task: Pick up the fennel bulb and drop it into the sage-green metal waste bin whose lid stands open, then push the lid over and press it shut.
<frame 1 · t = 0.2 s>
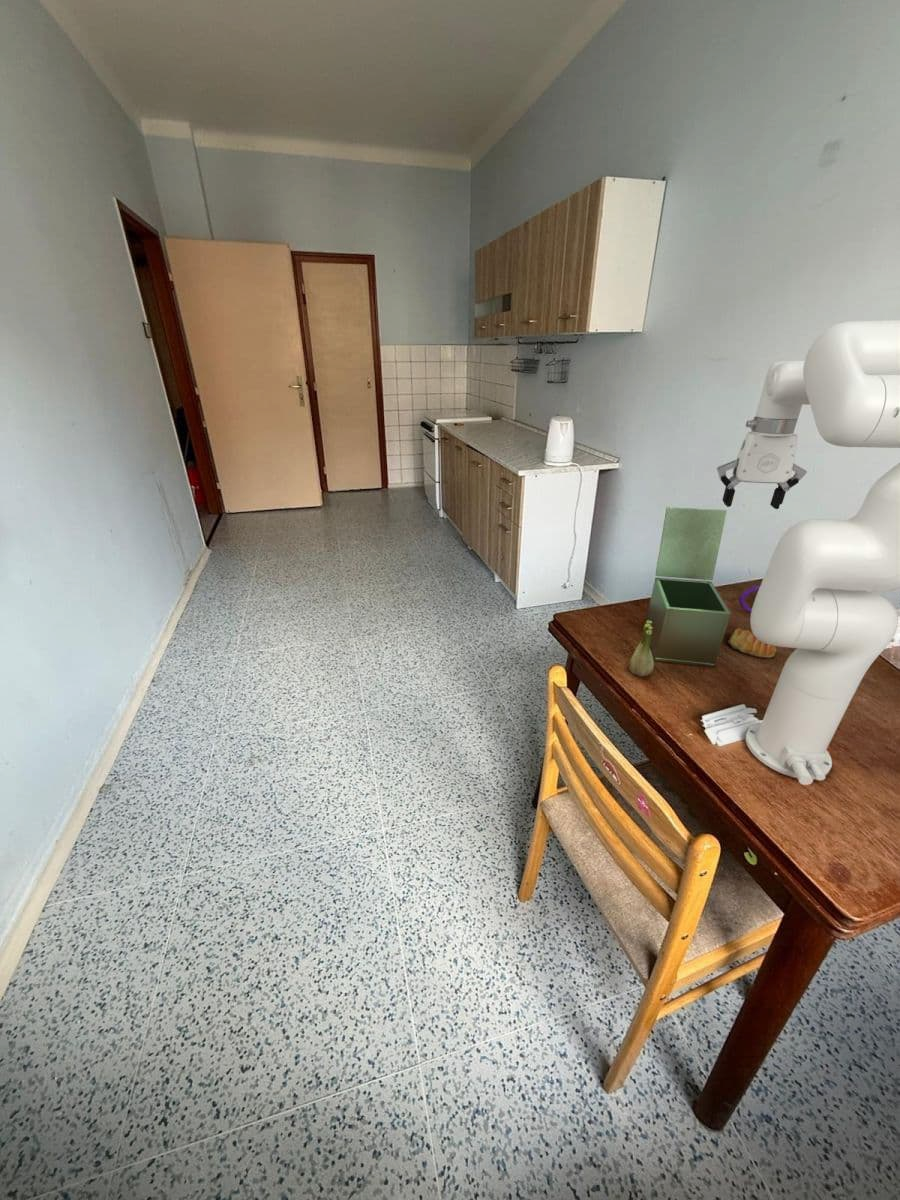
hand: (750, 506, 107), 31 cm above the table, tool pointing down, fingers open, 9 cm apart
bin lid: (689, 544, 110), point 22 cm above the table, hinge at 100.0°
trash bin: (677, 645, 113), on the table
mug: (771, 620, 122), on the table
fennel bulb: (640, 673, 104), on the table
pastry: (747, 648, 111), on the table
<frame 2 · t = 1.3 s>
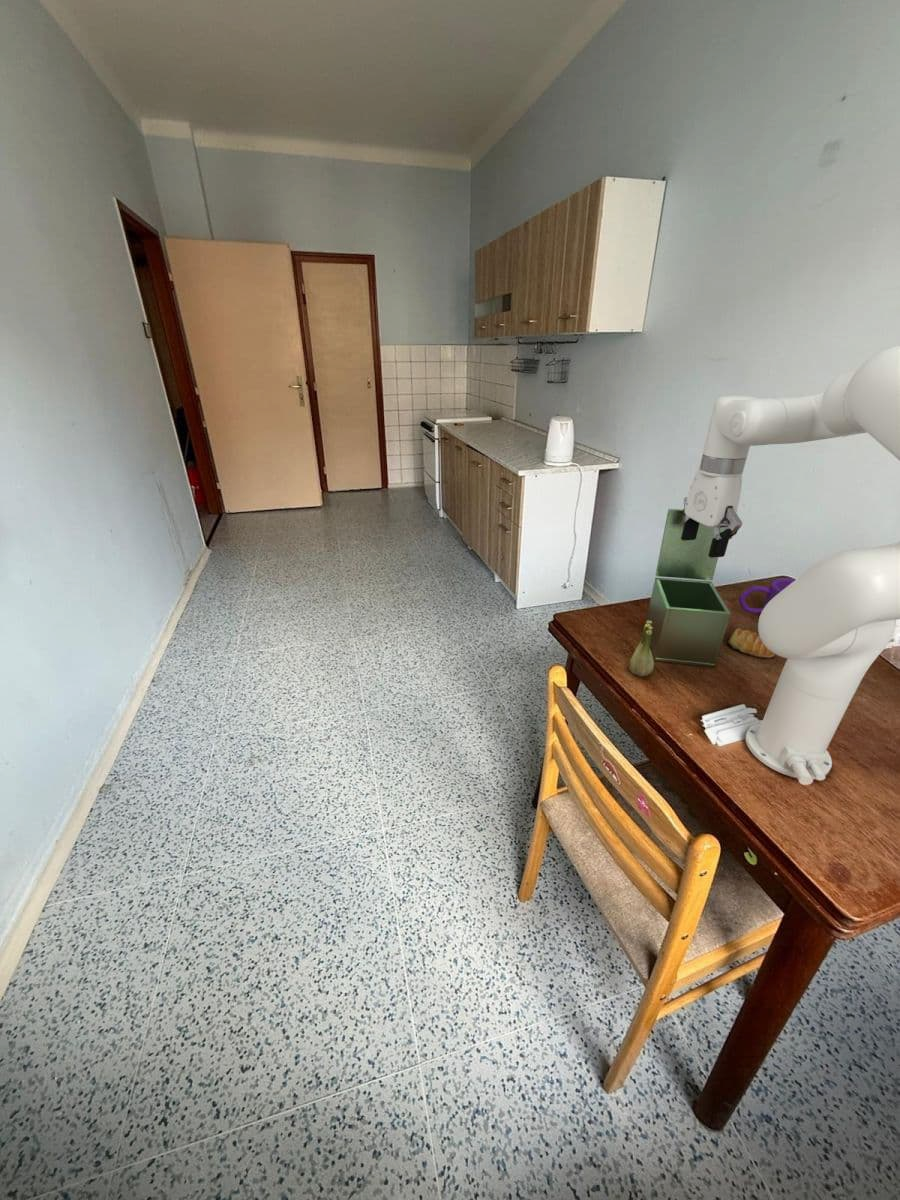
hand: (701, 547, 99), 26 cm above the table, tool pointing down, fingers open, 9 cm apart
bin lid: (690, 545, 109), point 22 cm above the table, hinge at 92.7°
everything else where it was.
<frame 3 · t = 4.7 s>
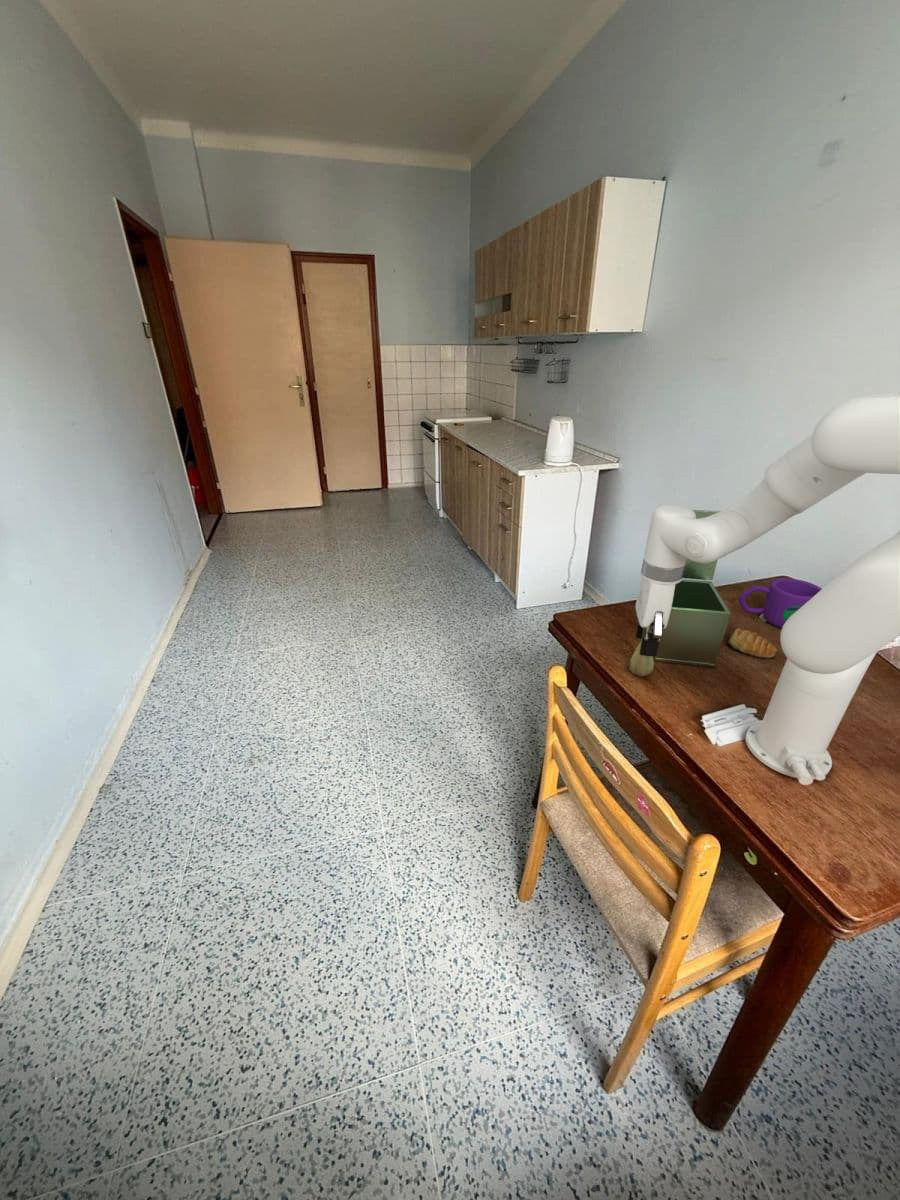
hand: (645, 645, 100), 7 cm above the table, tool pointing down, fingers closed on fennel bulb, 5 cm apart
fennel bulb: (640, 673, 104), on the table, touching gripper
everything else where it was.
when the fingers open (20 cm above the table, at t = 10.5 s): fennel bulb drops 12 cm, resting on trash bin.
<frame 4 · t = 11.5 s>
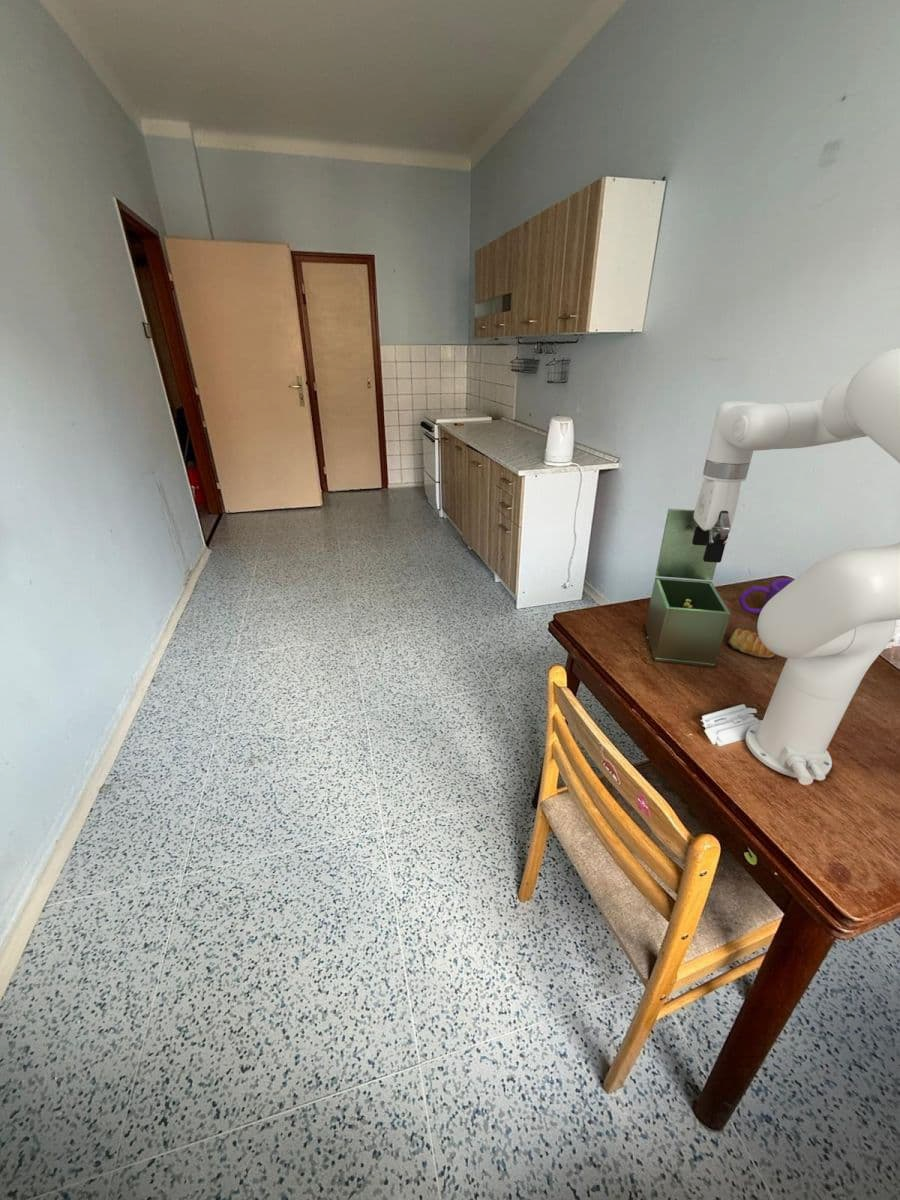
hand: (705, 552, 99), 25 cm above the table, tool pointing down, fingers open, 9 cm apart
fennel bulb: (680, 648, 110), point 1 cm above the table, touching trash bin
everything else where it was.
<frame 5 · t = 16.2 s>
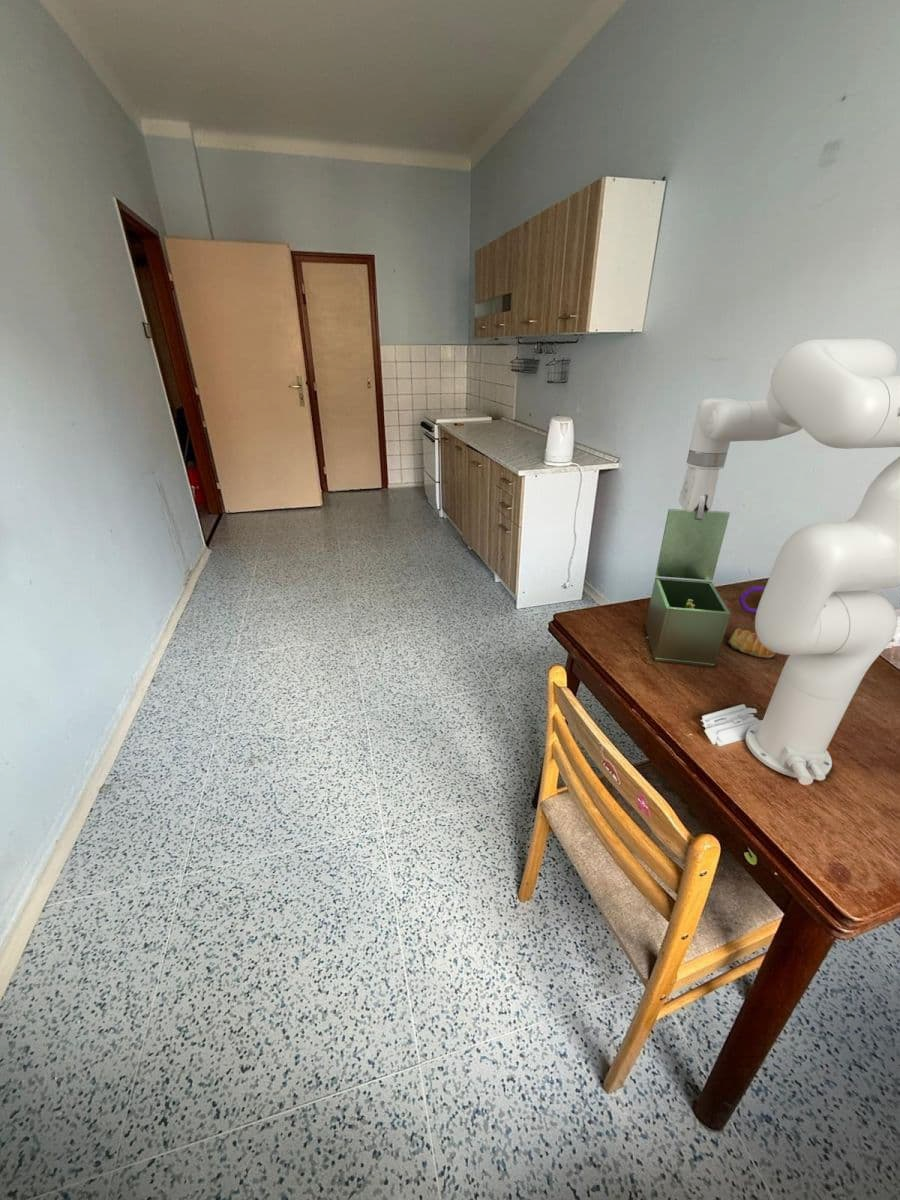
hand: (687, 537, 112), 23 cm above the table, tool pointing down, fingers closed
bin lid: (690, 545, 109), point 22 cm above the table, hinge at 91.8°, touching gripper
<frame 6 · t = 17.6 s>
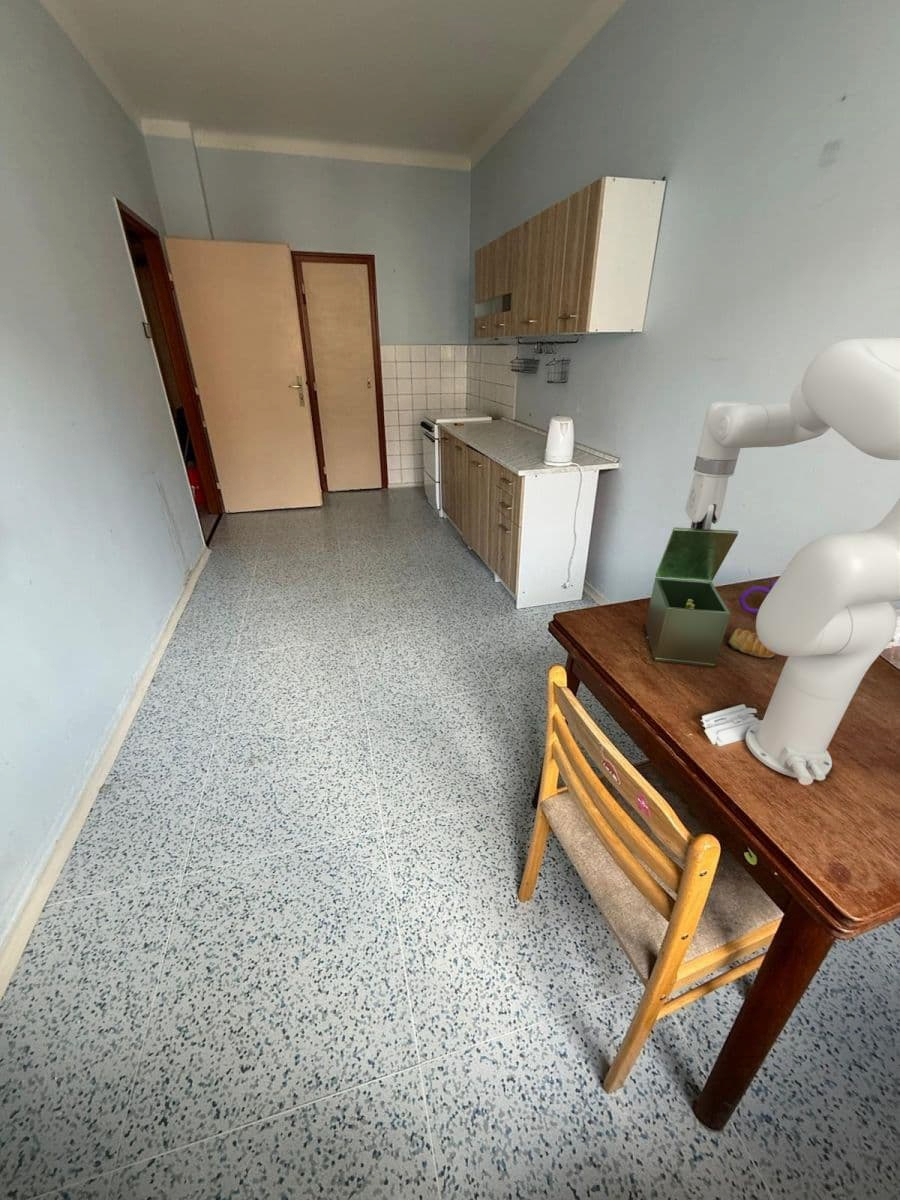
hand: (694, 548, 106), 23 cm above the table, tool pointing down, fingers closed
bin lid: (693, 555, 106), point 22 cm above the table, hinge at 63.0°, touching gripper
everything else where it was.
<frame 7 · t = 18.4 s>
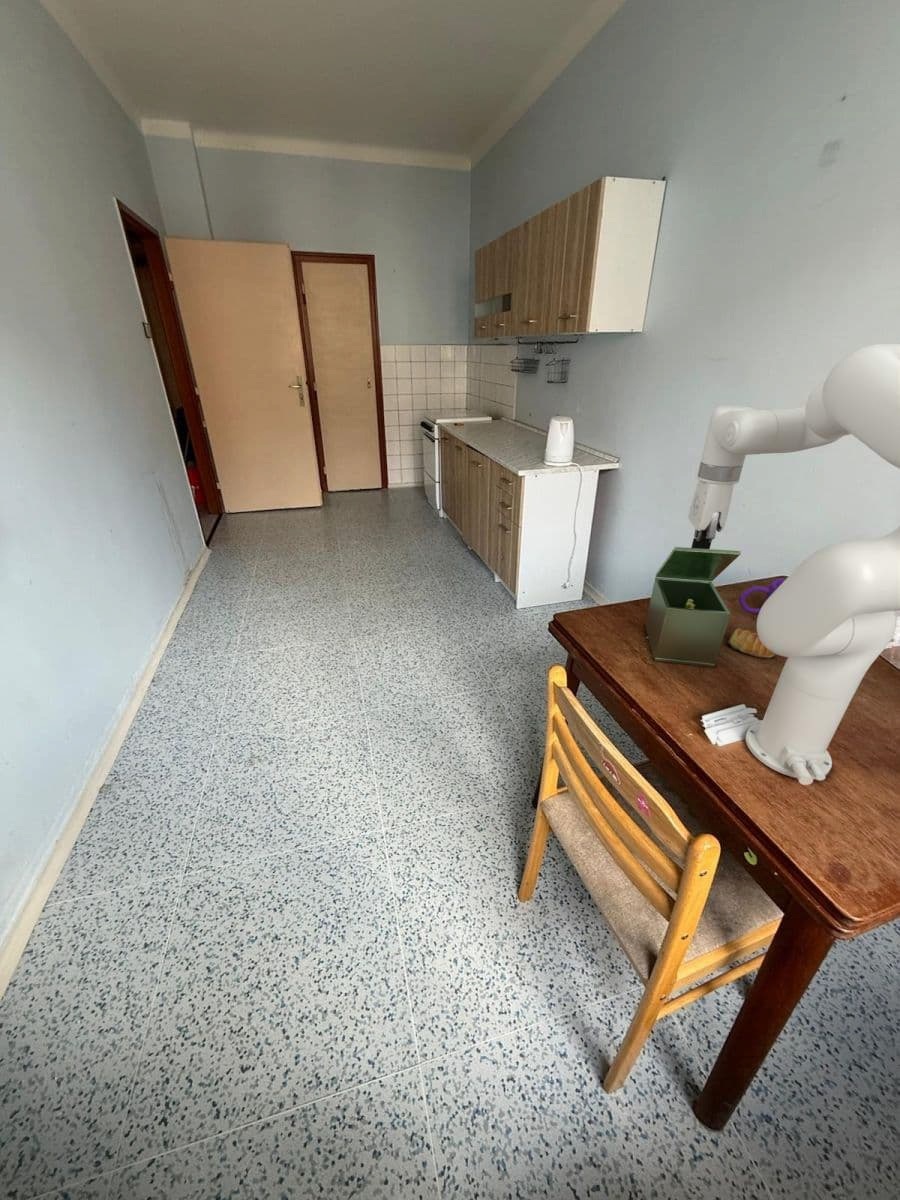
hand: (698, 556, 103), 23 cm above the table, tool pointing down, fingers closed
bin lid: (694, 565, 105), point 20 cm above the table, hinge at 45.3°, touching gripper
everything else where it was.
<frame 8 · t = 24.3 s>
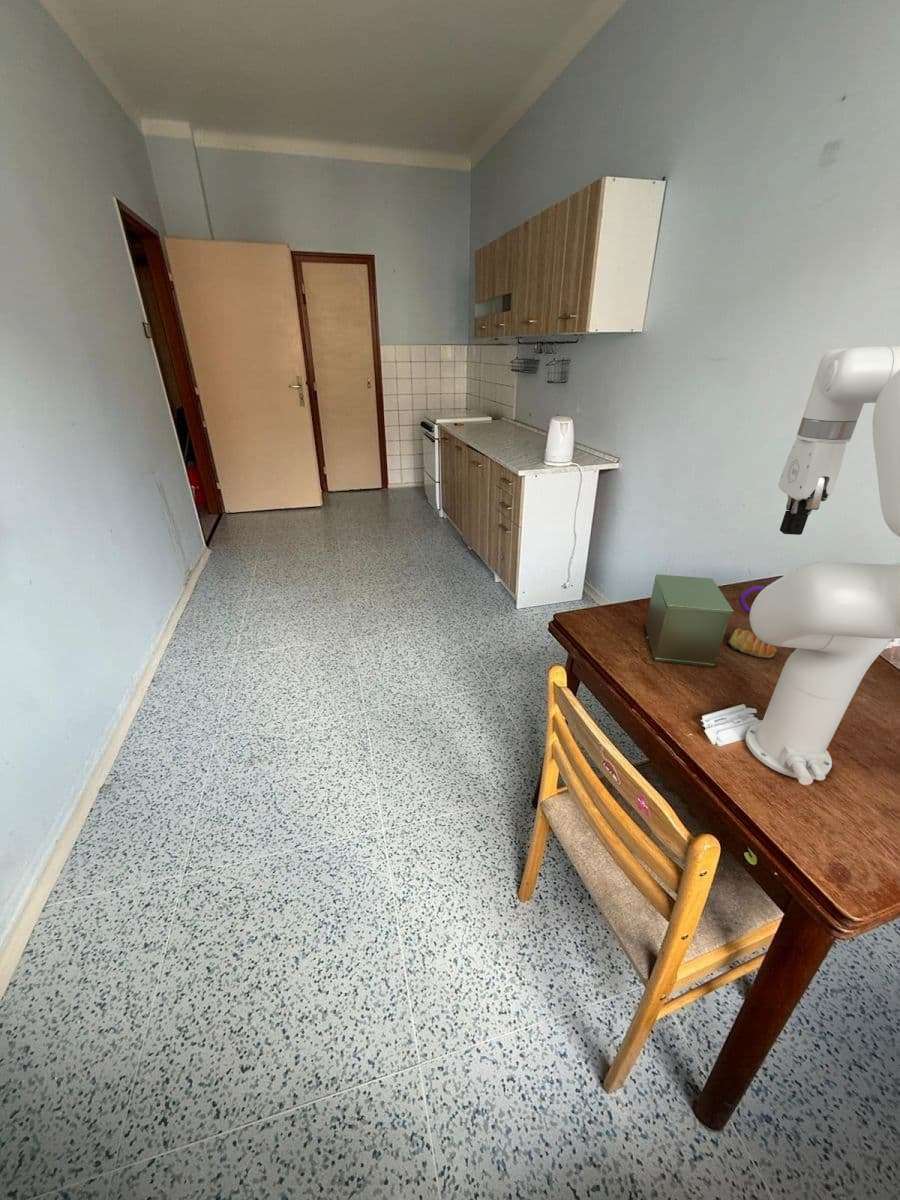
hand: (790, 532, 88), 32 cm above the table, tool pointing down, fingers closed
bin lid: (691, 592, 106), point 14 cm above the table, hinge at 1.2°
everything else where it was.
at the end: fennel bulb inside the target area in the trash bin (2.7 cm from its centre), point 0.6 cm above the trash bin's base; bin lid at +1° (first picture: +100°) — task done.
